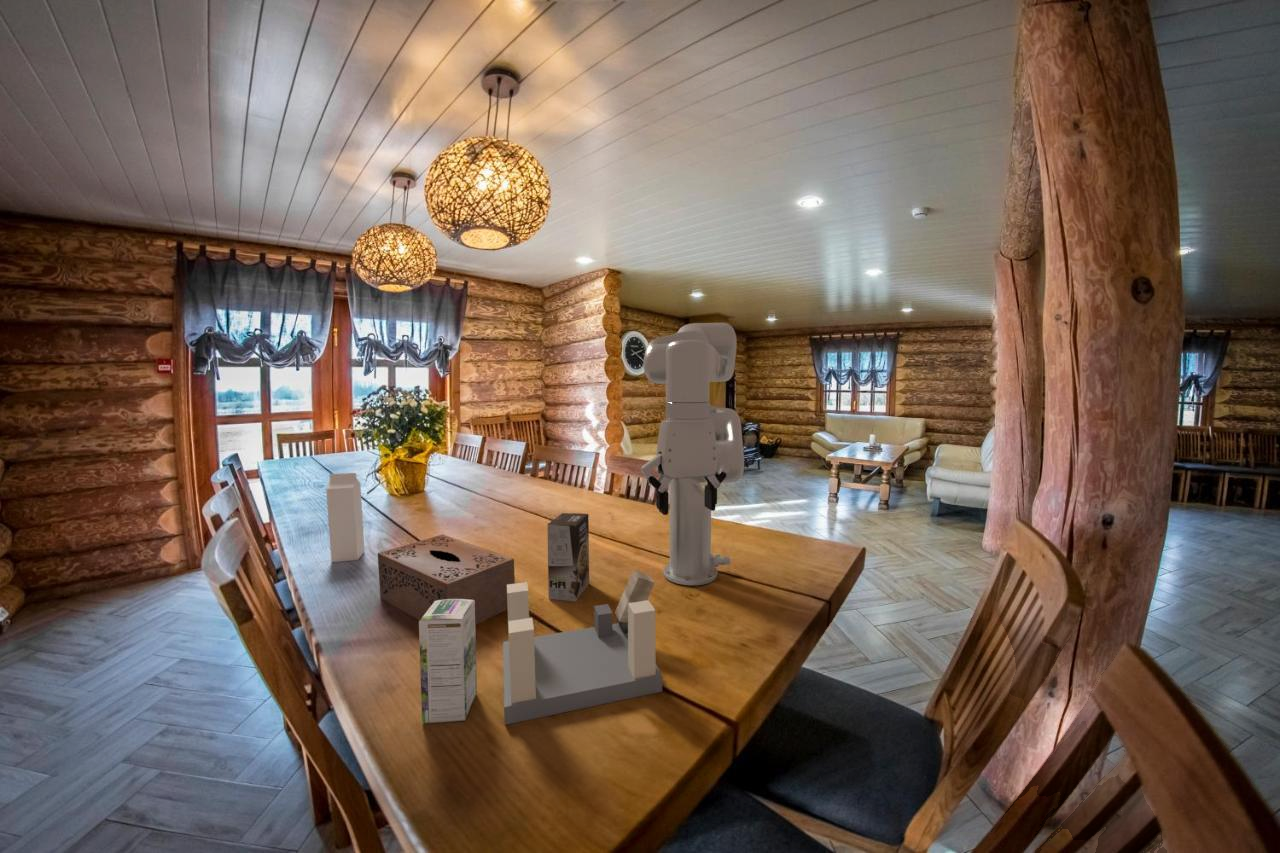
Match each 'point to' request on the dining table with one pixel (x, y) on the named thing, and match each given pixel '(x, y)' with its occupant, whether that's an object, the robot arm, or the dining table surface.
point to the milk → (345, 517)
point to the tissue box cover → (445, 576)
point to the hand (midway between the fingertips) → (686, 510)
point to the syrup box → (448, 660)
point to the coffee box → (568, 556)
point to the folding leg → (633, 596)
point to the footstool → (576, 661)
